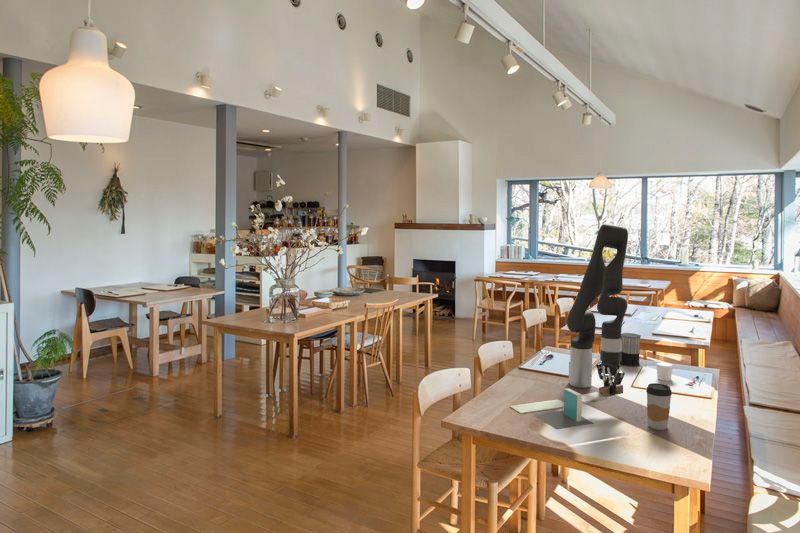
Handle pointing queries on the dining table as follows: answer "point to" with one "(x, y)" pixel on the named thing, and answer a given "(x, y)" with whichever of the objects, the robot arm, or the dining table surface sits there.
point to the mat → (561, 420)
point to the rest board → (538, 406)
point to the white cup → (664, 371)
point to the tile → (572, 404)
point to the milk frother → (630, 349)
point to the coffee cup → (658, 405)
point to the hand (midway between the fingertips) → (609, 393)
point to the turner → (600, 394)
